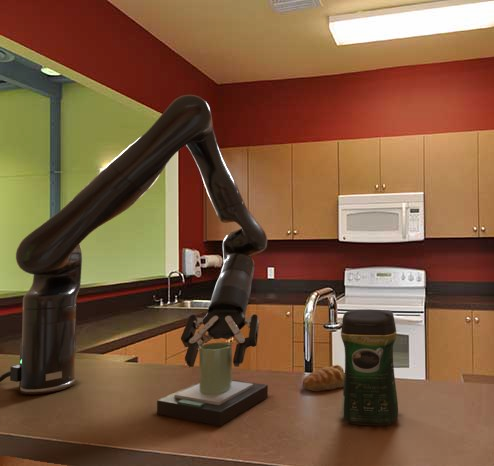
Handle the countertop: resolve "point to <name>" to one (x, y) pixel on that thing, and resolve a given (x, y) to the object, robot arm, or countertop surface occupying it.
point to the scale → (212, 403)
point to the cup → (215, 368)
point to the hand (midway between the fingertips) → (212, 364)
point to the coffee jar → (369, 367)
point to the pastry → (325, 378)
